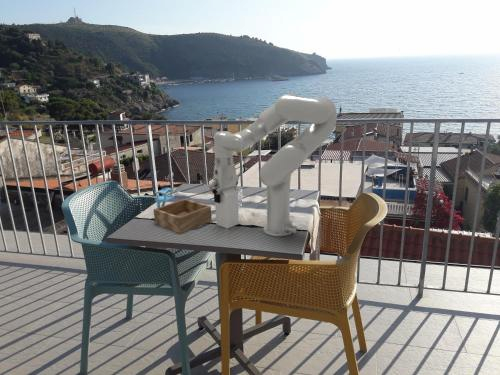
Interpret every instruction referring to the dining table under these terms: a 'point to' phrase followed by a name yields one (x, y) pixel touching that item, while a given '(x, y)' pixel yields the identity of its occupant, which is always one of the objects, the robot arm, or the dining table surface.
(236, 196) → the milk carton
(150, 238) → the dining table surface
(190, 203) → the wooden crate
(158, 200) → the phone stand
